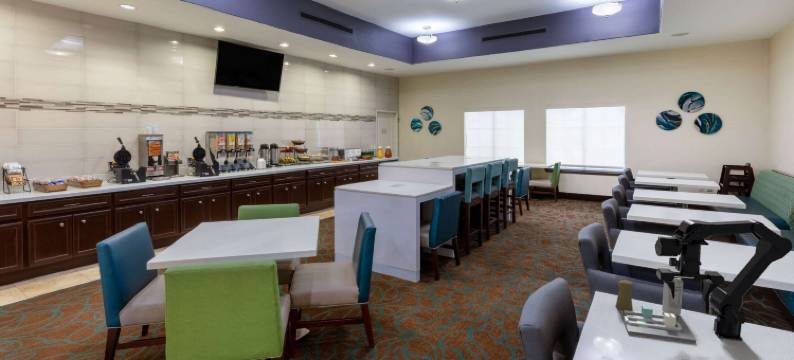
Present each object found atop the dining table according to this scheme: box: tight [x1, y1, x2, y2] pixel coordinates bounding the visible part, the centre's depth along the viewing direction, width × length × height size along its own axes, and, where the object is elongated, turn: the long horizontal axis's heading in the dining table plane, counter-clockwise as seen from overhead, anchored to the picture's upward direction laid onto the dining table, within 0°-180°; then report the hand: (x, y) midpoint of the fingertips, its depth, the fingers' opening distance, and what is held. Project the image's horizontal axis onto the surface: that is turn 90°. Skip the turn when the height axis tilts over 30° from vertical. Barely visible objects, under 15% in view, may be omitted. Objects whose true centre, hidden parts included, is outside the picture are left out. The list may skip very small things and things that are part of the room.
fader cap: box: [663, 312, 677, 327], centre depth 148 cm, size 3×3×4 cm
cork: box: [615, 279, 634, 312], centre depth 166 cm, size 6×6×11 cm
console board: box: [620, 304, 697, 344], centre depth 150 cm, size 20×16×5 cm
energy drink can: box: [661, 278, 684, 318], centre depth 159 cm, size 6×6×15 cm
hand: (688, 299), depth 145 cm, fingers open, 9 cm apart
